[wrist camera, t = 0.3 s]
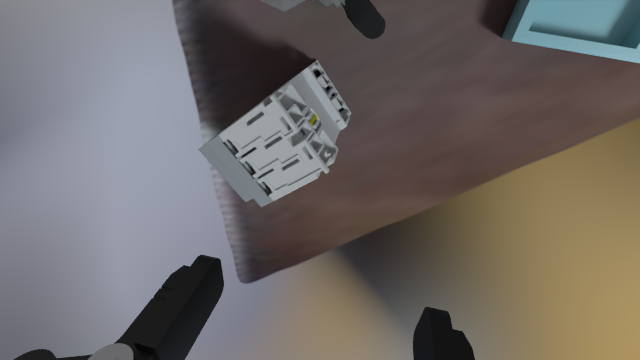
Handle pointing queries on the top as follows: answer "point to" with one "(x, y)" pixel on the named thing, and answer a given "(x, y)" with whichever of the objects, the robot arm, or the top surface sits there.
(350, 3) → the coffeepot
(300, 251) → the top surface
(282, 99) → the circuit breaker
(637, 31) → the tray
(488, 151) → the top surface
